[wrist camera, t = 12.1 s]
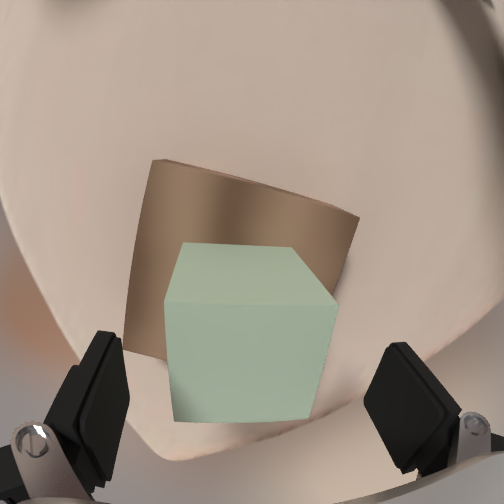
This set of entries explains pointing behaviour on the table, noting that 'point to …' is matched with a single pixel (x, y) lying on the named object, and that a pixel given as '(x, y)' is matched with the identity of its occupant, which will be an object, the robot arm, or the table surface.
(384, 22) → the table surface
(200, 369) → the sage block
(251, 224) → the walnut slab
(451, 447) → the robot arm
